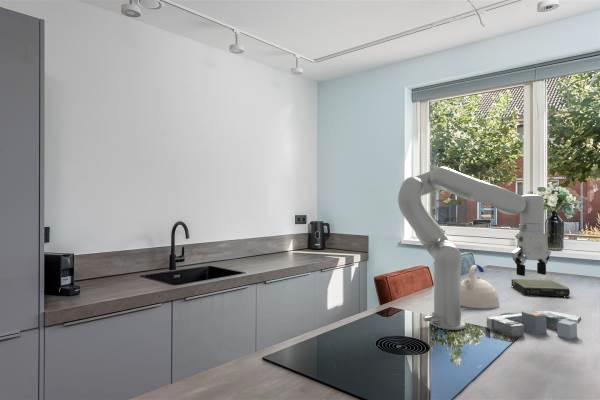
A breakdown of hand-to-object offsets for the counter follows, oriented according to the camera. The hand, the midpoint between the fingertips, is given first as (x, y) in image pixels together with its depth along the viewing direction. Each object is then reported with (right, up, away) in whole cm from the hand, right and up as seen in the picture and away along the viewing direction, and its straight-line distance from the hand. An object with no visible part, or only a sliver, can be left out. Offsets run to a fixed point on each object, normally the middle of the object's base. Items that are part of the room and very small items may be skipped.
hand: (531, 274), depth 143 cm
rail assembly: (0, -20, +1) cm, 20 cm away
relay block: (+9, -21, -7) cm, 23 cm away
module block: (+1, -21, -1) cm, 21 cm away
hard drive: (+21, -21, +16) cm, 34 cm away
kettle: (-3, -21, +39) cm, 44 cm away
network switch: (+40, -21, +61) cm, 76 cm away
